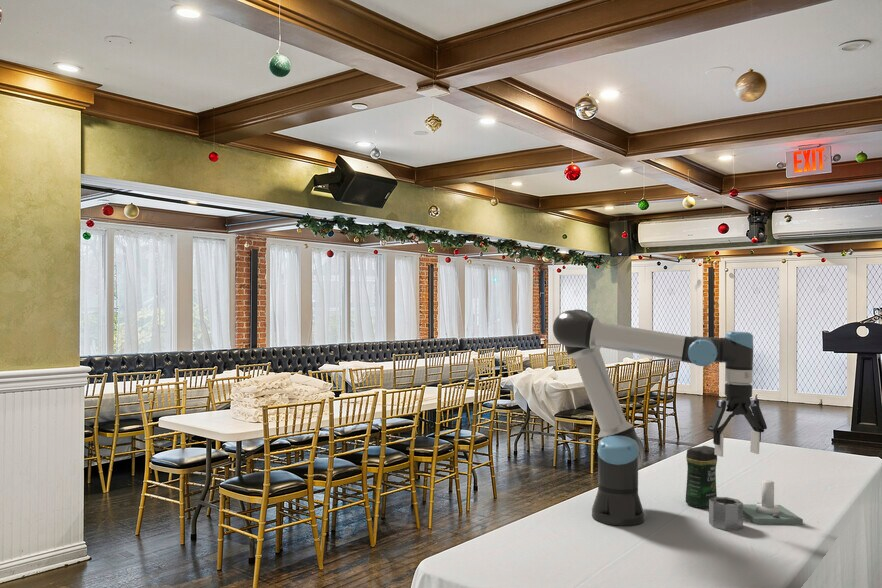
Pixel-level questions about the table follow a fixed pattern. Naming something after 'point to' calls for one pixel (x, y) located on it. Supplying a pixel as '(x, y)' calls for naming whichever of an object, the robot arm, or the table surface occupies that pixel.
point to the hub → (726, 513)
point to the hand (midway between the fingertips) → (736, 454)
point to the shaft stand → (769, 509)
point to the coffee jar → (701, 476)
